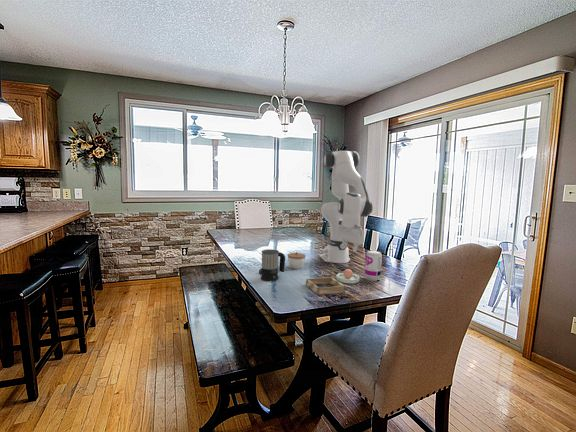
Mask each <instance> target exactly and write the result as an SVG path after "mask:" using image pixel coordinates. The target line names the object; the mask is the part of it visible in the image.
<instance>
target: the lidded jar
mask: <svg viewBox="0 0 576 432" xmlns="http://www.w3.org/2000/svg"><path fill="white" fill-rule="evenodd" d="M305 262H306V254H305V253H302V252H298V251H296V252H290V253H288V254H287V263H288V265H289V266H290V268H291V269H292V270H293V269H295V270H299V269H302V267H304V266H305Z"/></svg>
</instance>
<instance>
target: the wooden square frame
mask: <svg viewBox="0 0 576 432" xmlns="http://www.w3.org/2000/svg"><path fill="white" fill-rule="evenodd" d="M326 284H331V286H326V287H325V286H323V287H319V286H317V285H326ZM305 285H306V286H307V287H308V288H309V289H311V290H312V292H314V293H315V294H316V295H318V296H319V295H321V296H322V295H329V294H330V295H333V294H340V293H341V294H342V293H346V285H344V283H342V282H340V281H338V280H337V279H336V278H333V277H332V276H326V277H315V278H314V277H313V278H306V281H305Z"/></svg>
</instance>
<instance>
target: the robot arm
mask: <svg viewBox="0 0 576 432" xmlns="http://www.w3.org/2000/svg"><path fill="white" fill-rule="evenodd" d="M324 154H325V155H324V157H323V164H324V166H325V167H326V169H332V172H331V195H333V196H334V197H336V198H337V199H338V202H337V201H336V202H335V201H329V202H325V203H323V204H322V206H321V209H320V213H321V215H322V216H321V217H323V218H325V220H326V222H327V223H328V225H329V228H330V229H329V230H330V234H329V235H330V237H329V239H328V244H327V245H326V246H325V247H323V249H322V254H319V257H320V258H321V260H323V261H324V262H326V263H328V262H329V263H333V264H334V263H335V264H346V263H349V261H351V258H350V256H349V255H350V254H349V253H350V250H349V247H348V244H349V243H352V244H353V247H352V248H351V249H352V252H354V253H356V252H357V250H358V248H359V246H360V245H363V244H364V242H365V241H364V240H365V234H364V233H365V232H364V230H363V229H364V228H362V226H361V217H364V218H367V217H368V216H369V215H371V214H372V213H373V209H374V208H373V202H372V200H371V198H370V197H369V194H368V190H367V188H366V185H365V182H364V179H363V177H362V175H361V174H359V173H358V172H357V170H356V168H357V167H358V165H359V164H360V155H359V153H358V151H354V150H351V151H350V150H338V151H337V150H336V151H328V152H326V153H324ZM349 186H352V187H354V188H355V189H356V191H357V192H355V191H354V192H352V191H350V188H349Z"/></svg>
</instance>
